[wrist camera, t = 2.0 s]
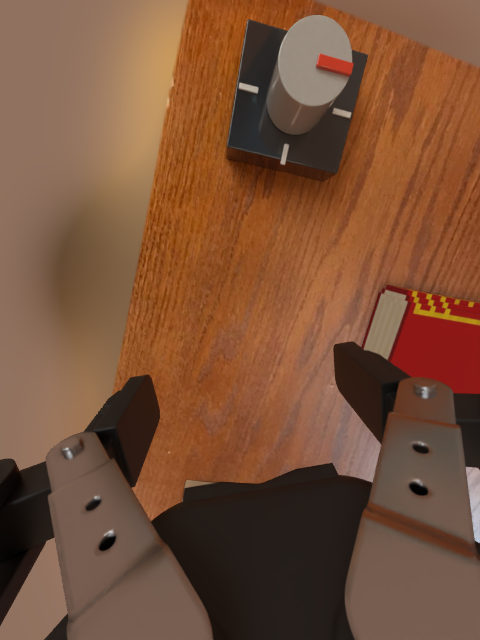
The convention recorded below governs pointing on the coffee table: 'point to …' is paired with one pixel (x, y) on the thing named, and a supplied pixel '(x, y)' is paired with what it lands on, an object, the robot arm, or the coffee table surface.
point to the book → (428, 336)
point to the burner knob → (308, 73)
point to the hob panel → (261, 133)
